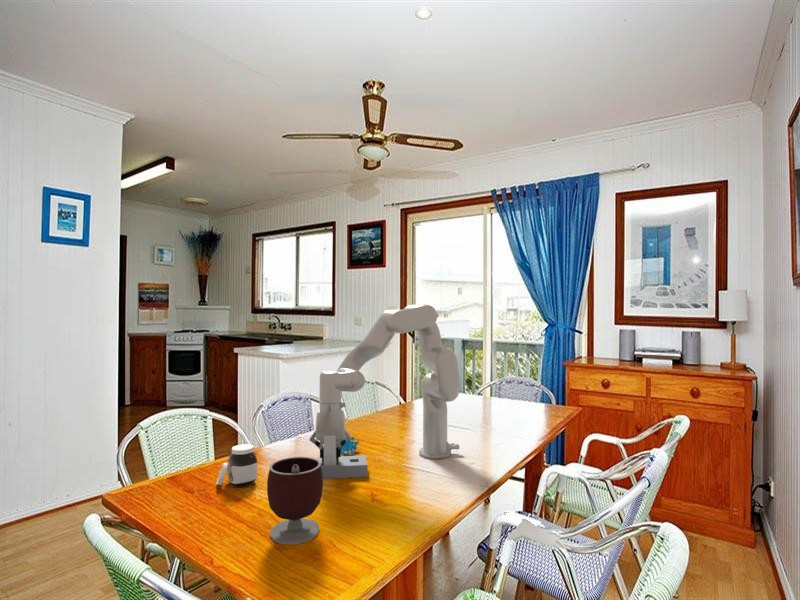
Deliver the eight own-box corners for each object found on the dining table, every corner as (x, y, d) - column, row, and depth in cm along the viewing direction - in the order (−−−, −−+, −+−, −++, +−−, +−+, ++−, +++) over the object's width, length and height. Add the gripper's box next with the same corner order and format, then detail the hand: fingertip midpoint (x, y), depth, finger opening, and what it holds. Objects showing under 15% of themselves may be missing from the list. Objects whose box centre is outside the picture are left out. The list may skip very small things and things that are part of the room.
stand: (365, 466, 163) (365, 455, 163) (367, 476, 153) (367, 464, 153) (317, 468, 160) (317, 457, 160) (316, 479, 150) (316, 467, 151)
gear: (337, 454, 171) (332, 431, 178) (331, 462, 174) (327, 439, 181) (363, 453, 177) (357, 431, 183) (356, 461, 180) (351, 439, 187)
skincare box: (324, 465, 159) (324, 431, 159) (336, 465, 159) (337, 431, 159) (323, 472, 153) (323, 436, 153) (335, 471, 153) (336, 436, 153)
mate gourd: (268, 522, 120) (268, 447, 121) (321, 517, 123) (321, 443, 124) (264, 553, 105) (265, 467, 105) (324, 546, 108) (325, 462, 109)
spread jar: (260, 483, 147) (261, 448, 147) (226, 494, 138) (227, 456, 139) (243, 474, 155) (243, 440, 155) (210, 483, 147) (211, 447, 147)
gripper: (354, 403, 161) (354, 455, 161) (306, 405, 159) (306, 457, 159) (355, 408, 154) (355, 462, 154) (305, 410, 152) (304, 464, 151)
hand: (330, 459), depth 156 cm, fingers closed on skincare box, 4 cm apart
